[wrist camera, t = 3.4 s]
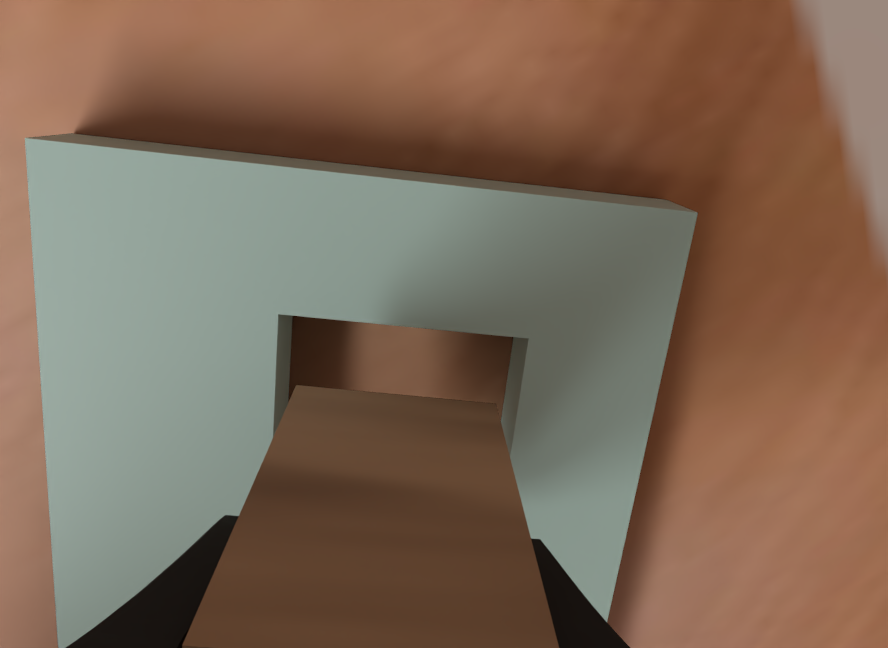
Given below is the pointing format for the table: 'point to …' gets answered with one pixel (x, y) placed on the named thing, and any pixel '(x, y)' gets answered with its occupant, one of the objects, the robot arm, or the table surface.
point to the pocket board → (328, 297)
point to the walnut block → (379, 533)
